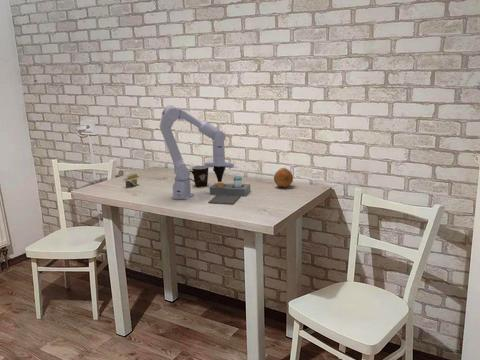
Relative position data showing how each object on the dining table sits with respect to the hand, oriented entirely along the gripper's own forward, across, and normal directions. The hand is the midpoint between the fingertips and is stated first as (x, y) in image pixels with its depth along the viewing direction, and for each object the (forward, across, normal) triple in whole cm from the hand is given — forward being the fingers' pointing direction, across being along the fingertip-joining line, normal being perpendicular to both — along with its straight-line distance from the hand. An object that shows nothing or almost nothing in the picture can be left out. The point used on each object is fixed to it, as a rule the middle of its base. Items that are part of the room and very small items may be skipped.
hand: (219, 181), depth 227 cm
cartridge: (+6, -9, 0) cm, 11 cm away
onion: (+6, -29, -15) cm, 33 cm away
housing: (+6, -5, 0) cm, 8 cm away
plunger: (+5, 0, 0) cm, 5 cm away
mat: (+6, -6, +13) cm, 15 cm away
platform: (+6, +51, -4) cm, 52 cm away
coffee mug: (+6, +16, -11) cm, 20 cm away
